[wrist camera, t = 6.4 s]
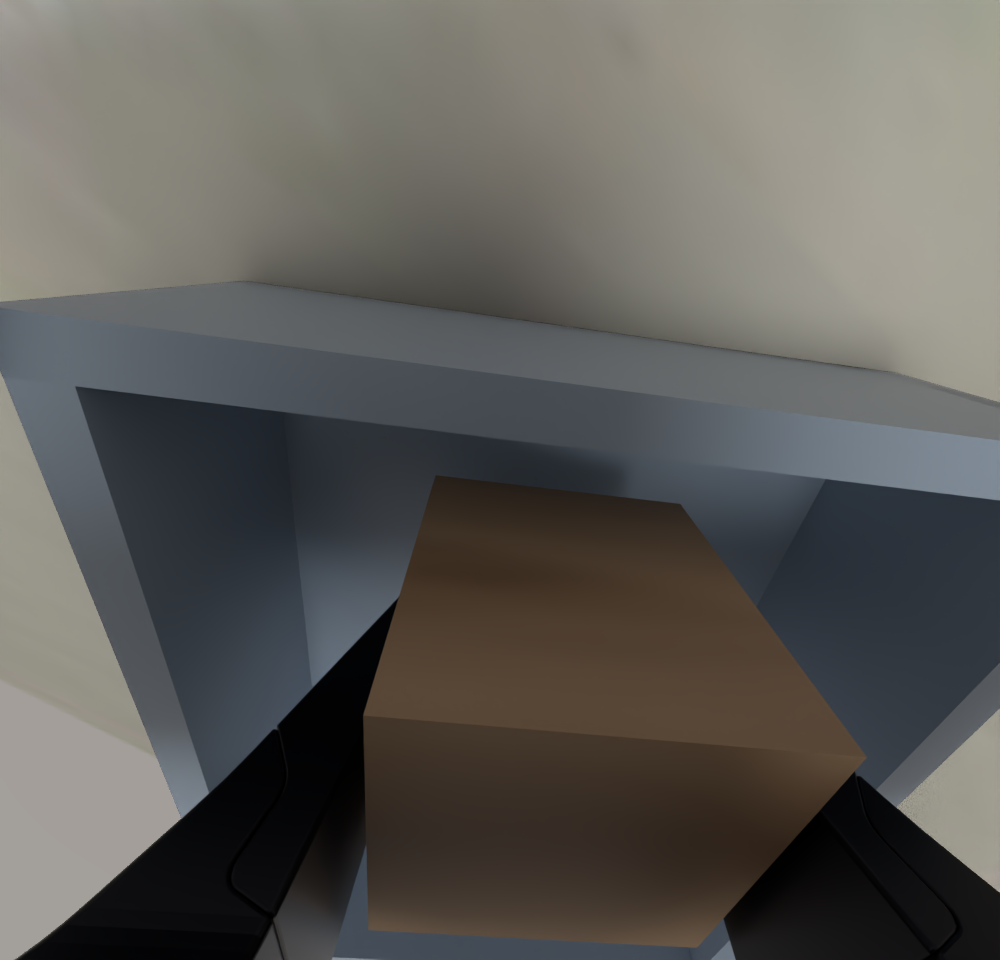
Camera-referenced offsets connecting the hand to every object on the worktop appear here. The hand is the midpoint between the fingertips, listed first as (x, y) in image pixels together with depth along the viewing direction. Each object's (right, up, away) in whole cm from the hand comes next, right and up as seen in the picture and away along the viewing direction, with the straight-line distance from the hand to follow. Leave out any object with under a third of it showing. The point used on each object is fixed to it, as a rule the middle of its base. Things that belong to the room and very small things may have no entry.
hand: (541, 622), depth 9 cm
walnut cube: (0, +1, +1) cm, 1 cm away
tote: (0, -2, +6) cm, 6 cm away
